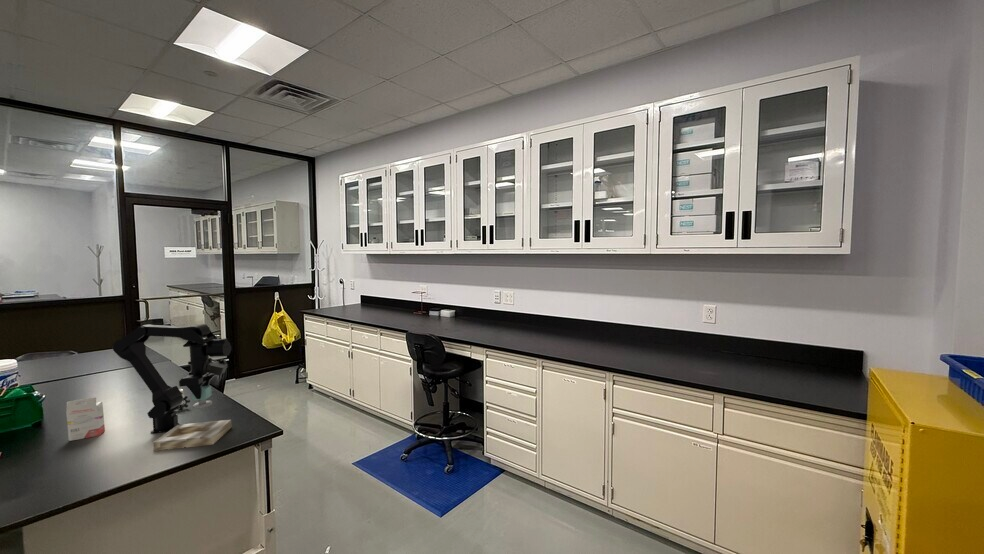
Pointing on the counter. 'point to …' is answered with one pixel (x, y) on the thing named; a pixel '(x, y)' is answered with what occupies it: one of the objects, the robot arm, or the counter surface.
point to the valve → (183, 400)
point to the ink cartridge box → (84, 419)
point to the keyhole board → (193, 442)
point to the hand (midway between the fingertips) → (201, 396)
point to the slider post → (203, 398)
